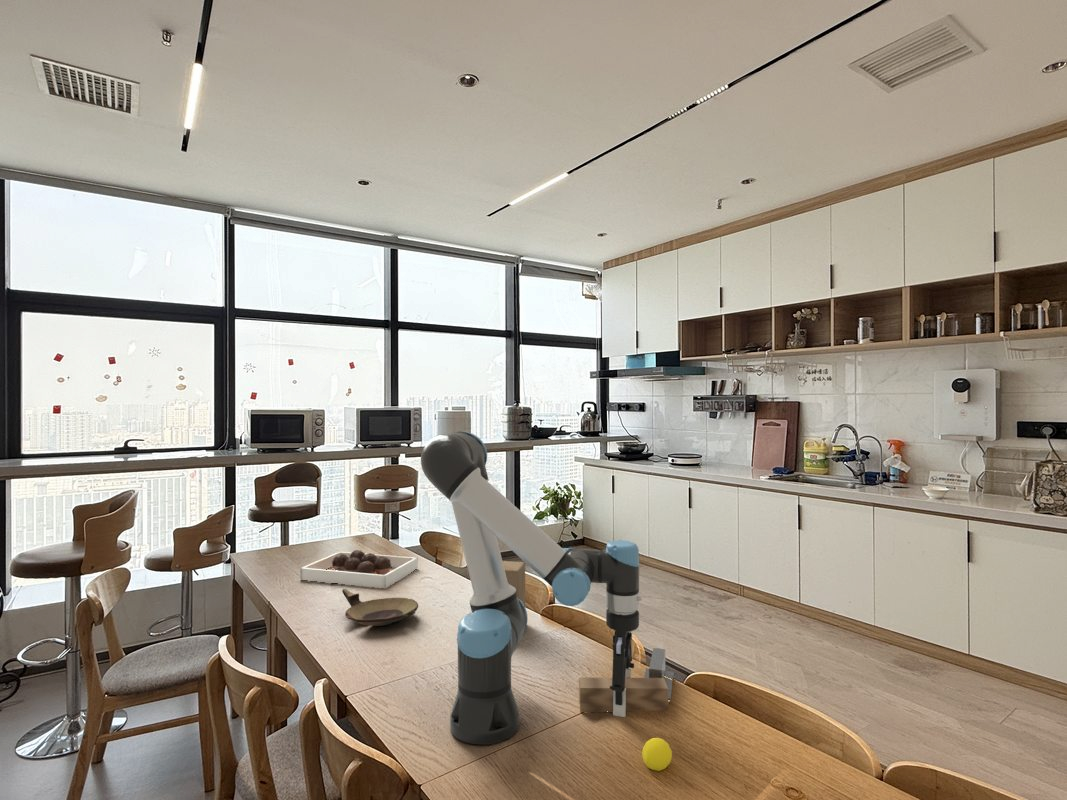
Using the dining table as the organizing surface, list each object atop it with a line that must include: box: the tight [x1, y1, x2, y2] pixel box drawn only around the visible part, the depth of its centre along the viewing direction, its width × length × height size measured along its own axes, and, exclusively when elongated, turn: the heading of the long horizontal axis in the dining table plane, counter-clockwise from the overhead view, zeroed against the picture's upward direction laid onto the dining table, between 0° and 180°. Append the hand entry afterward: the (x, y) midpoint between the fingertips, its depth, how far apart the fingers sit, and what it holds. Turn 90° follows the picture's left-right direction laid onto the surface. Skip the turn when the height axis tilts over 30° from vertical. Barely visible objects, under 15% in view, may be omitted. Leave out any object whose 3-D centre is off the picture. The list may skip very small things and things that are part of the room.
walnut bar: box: [578, 676, 669, 713], centre depth 135 cm, size 20×5×6 cm, turn 88°
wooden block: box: [502, 560, 526, 607], centre depth 181 cm, size 10×10×20 cm
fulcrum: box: [643, 647, 675, 700], centre depth 145 cm, size 14×7×7 cm, turn 163°
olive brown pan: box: [341, 588, 419, 627], centre depth 190 cm, size 22×30×8 cm
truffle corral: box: [299, 551, 419, 590], centre depth 238 cm, size 26×38×5 cm
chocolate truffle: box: [328, 549, 391, 575], centre depth 239 cm, size 28×17×8 cm, turn 52°
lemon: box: [641, 737, 673, 772], centre depth 113 cm, size 7×5×5 cm
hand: (622, 706), depth 135 cm, fingers open, 9 cm apart
